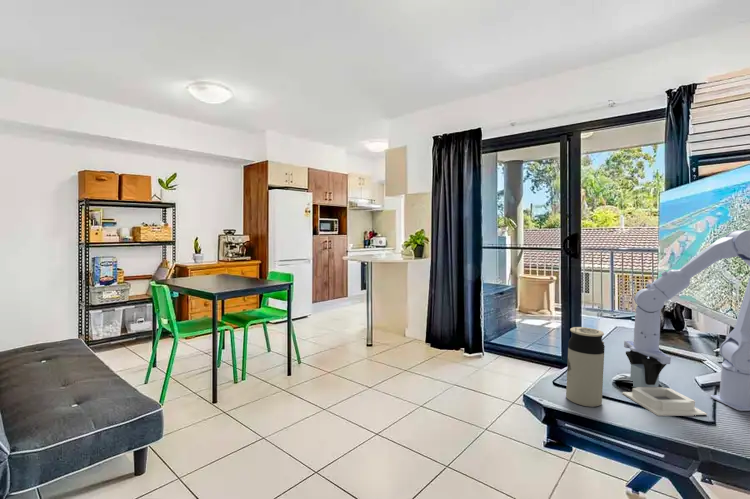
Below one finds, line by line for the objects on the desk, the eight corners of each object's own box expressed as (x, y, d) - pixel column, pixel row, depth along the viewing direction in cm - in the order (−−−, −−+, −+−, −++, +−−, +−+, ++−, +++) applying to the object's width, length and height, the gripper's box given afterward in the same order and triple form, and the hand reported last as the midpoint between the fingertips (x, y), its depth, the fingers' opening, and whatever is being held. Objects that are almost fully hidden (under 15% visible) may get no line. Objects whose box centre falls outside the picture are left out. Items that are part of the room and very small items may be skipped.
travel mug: (603, 399, 97) (606, 330, 96) (599, 410, 91) (603, 336, 90) (569, 391, 102) (572, 325, 101) (563, 401, 96) (566, 330, 95)
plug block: (647, 384, 107) (648, 364, 107) (658, 390, 103) (659, 369, 103) (629, 384, 107) (631, 364, 107) (640, 390, 103) (641, 369, 103)
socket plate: (665, 393, 101) (666, 384, 101) (706, 415, 89) (707, 405, 89) (622, 393, 101) (622, 384, 101) (657, 415, 89) (658, 405, 89)
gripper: (615, 325, 112) (612, 371, 112) (653, 339, 97) (650, 391, 98) (638, 326, 112) (635, 371, 113) (679, 340, 97) (676, 392, 98)
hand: (644, 380), depth 105 cm, fingers closed on plug block, 4 cm apart
